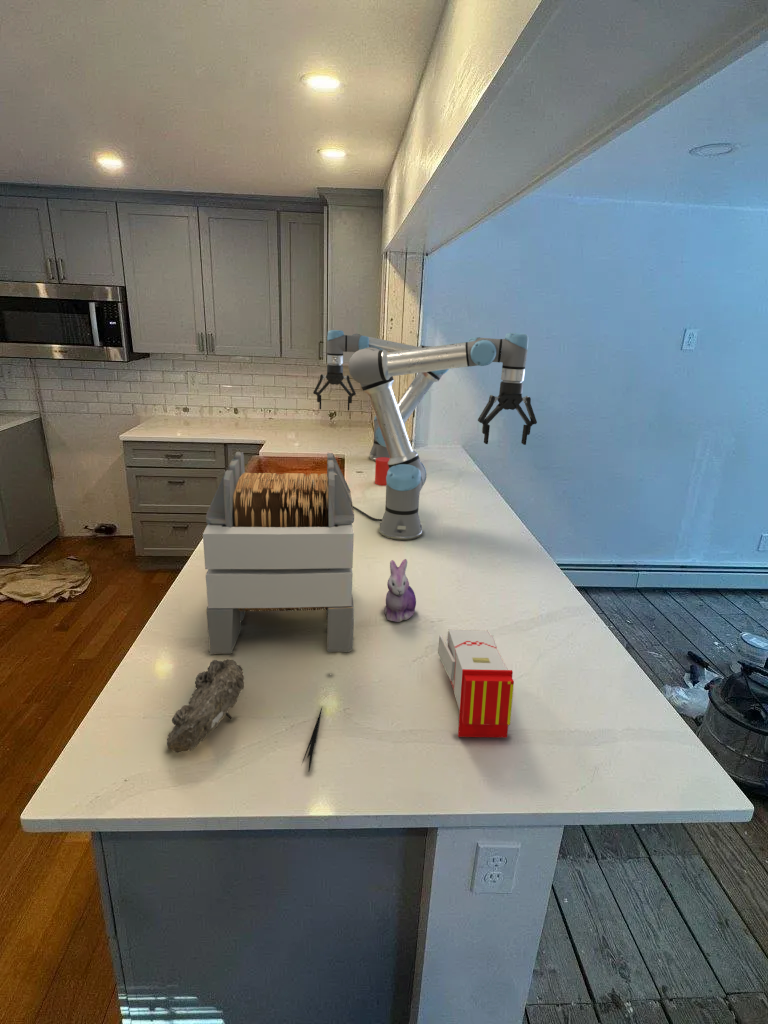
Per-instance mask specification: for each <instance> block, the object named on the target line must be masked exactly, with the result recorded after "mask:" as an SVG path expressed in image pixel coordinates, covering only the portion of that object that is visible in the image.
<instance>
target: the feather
mask: <svg viewBox="0 0 768 1024" xmlns="http://www.w3.org/2000/svg"><path fill="white" fill-rule="evenodd" d="M329 675H330V676H331V675H332V674H331V673H330V674H329ZM322 710H323V707H321V708H320V710H319V713H318V716H317V719H316V723H315V725H314V728H313V731H312V733H311V737H310V739H309V742H308V745H307V748H306V751H305V754H304V757H303V760H302V763H301V767H302V765H303V763H304V761H305V758H308V759H309V760H308V762H307V763H308V764H307V766H308V771H310V770H311V766H312V765H311V764H312V760H313V757H315V756H314V755H315V751H316V749H315V746H317V739H318V733H319V729H320V722H321V717H322V712H323V711H322ZM313 754H314V755H313ZM306 755H307V757H306Z"/></svg>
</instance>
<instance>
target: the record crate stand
mask: <svg viewBox="0 0 768 1024" xmlns="http://www.w3.org/2000/svg"><path fill="white" fill-rule="evenodd" d="M244 455H245V454H244V451H242V452H241V451H236V452H235V454H234V456H233V458H232V459H230V463H229V465H228V467H227V469H226V470H224V473H223V475H222V478H221V479H220V482H219V484H218V487H217V489H216V491H215V494H214V495H213V497H212V500H211V502H210V505H209V507H208V509H207V511H206V515H205V523H206V524H207V525H206V527H205V529H204V531H203V533H202V543H203V558H204V569H205V570H206V573H205V584H206V587H205V588H206V598H207V599H206V601H207V607H206V623H207V634H208V641H209V642H208V643H209V650H208V653H209V655H216V654H217V655H218V654H221V655H222V654H223V655H226V654H227V655H228V654H230V655H231V654H232V653H233V650H234V648H235V647H236V643H237V641H238V638H239V636H240V634H241V630H242V626H241V625H242V623H241V622H243V621H244V618H245V615H246V612H272V611H273V612H279V611H280V612H284V611H286V612H288V611H289V612H291V611H292V612H293V611H294V612H295V611H303V612H304V611H322V610H323V611H326V636H327V637H326V641H327V645H326V646H327V652H329V653H330V652H332V653H333V652H343V653H349V652H351V651H352V650H354V617H355V616H354V614H355V607H354V598H353V575H354V573H353V566H354V563H353V562H354V537H355V536H354V535H355V532H354V527H353V524H354V522H355V511H354V509H353V506H354V504H353V500H352V495H351V489H350V487H349V485H348V483H347V480H346V479H345V476H344V474H343V472H342V470H341V467H340V465H339V463H338V461H337V459H336V457H335V455H334V453H333V452H327V453H326V456H327V457H326V468H327V469H326V473H320V474H318V473H307V474H306V473H303V472H302V473H299V472H298V473H297V472H294V473H293V472H292V473H291V472H290V473H288V472H283V473H276V472H273V473H271V472H263V473H262V472H259V473H258V472H253V473H252V472H245V468H246V467H245V456H244Z"/></svg>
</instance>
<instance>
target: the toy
mask: <svg viewBox="0 0 768 1024" xmlns="http://www.w3.org/2000/svg"><path fill="white" fill-rule="evenodd" d="M446 640H447V643H446V641H445V639H444V636H443V635H442V634H439V637H438V646H437V656H438V657H439V659H440V661H441V663H442V666H443V668H444V670H445V672H446V674H447V677H448V679H449V681H450V684H451V687H452V690H453V693H454V697H455V701H456V705H457V708H458V711H459V714H458V715H459V716H458V730H457V731H458V732H457V737H458V738H508V731H509V726H510V725H511V717H512V707H513V697H514V696H513V695H514V684H515V680H514V679H513V673H514V671H513V670H512V669H508V667H507V665H506V662H505V661H504V659H503V658H502V655H501V653H500V651H499V649H498V647H497V643H496V639H495V637H494V635H493V634H491V632H490V631H489V629H467V628H466V629H465V628H463V629H461V628H460V629H459V628H448V630H447V639H446Z"/></svg>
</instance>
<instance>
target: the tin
mask: <svg viewBox="0 0 768 1024" xmlns="http://www.w3.org/2000/svg"><path fill="white" fill-rule="evenodd" d="M389 459H390V458H387V457H380V458H376V461H375V466H374V467H375V469H374V484H375V485H377V486H381V487H382V486H384V487H386V476H387V472H388V470H389V466H388V461H389Z"/></svg>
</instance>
